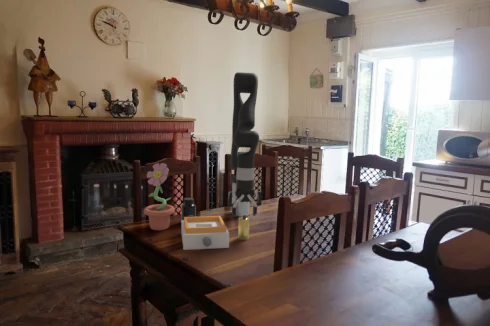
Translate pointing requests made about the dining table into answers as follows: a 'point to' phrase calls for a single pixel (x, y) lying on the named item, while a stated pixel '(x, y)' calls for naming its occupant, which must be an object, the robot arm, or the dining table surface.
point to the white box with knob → (204, 233)
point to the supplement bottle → (188, 208)
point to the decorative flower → (158, 212)
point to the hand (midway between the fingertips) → (244, 215)
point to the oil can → (243, 228)
